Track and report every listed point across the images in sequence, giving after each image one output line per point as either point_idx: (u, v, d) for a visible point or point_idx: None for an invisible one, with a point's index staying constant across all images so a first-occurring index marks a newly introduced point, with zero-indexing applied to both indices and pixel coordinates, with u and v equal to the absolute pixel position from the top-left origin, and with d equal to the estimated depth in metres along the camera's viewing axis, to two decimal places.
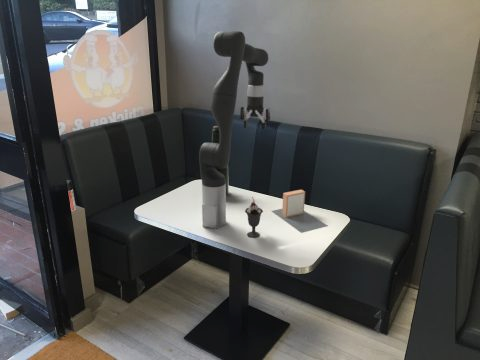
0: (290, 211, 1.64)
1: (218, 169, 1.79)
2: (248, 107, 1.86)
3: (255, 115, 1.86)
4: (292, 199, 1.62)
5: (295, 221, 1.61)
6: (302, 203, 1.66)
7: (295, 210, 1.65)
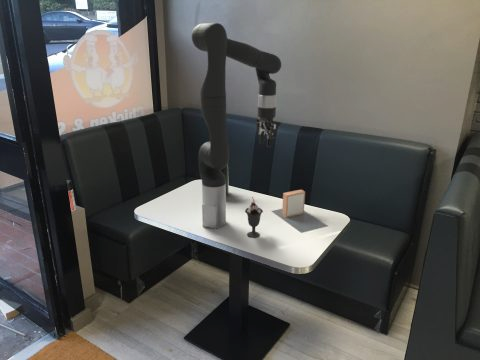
0: (290, 211, 1.64)
1: None
2: None
3: None
4: (292, 199, 1.62)
5: (295, 221, 1.61)
6: (302, 203, 1.66)
7: (295, 210, 1.65)
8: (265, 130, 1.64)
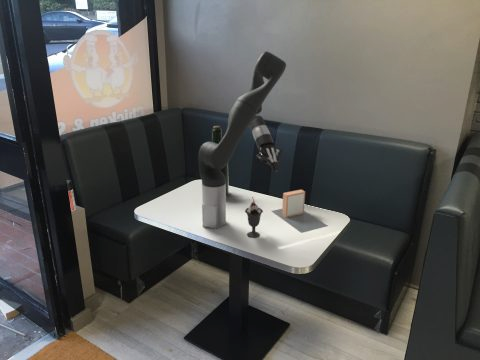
0: (290, 211, 1.64)
1: None
2: None
3: None
4: (292, 199, 1.62)
5: (295, 221, 1.61)
6: (302, 203, 1.66)
7: (295, 210, 1.65)
8: (273, 154, 1.75)
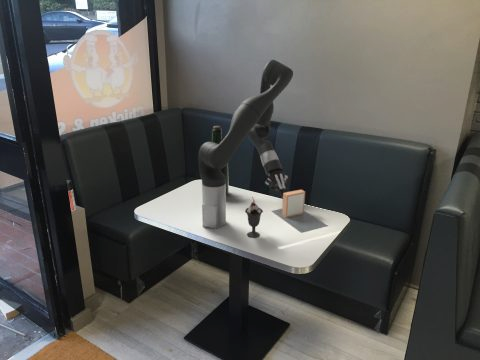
0: (290, 211, 1.64)
1: None
2: None
3: None
4: (292, 199, 1.62)
5: (295, 221, 1.61)
6: (302, 203, 1.66)
7: (295, 210, 1.65)
8: (282, 180, 1.72)
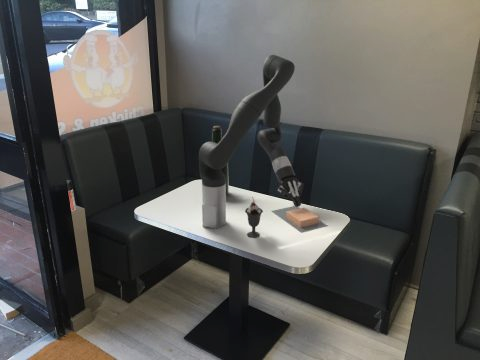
0: None
1: None
2: None
3: None
4: None
5: None
6: None
7: None
8: (295, 188, 1.65)
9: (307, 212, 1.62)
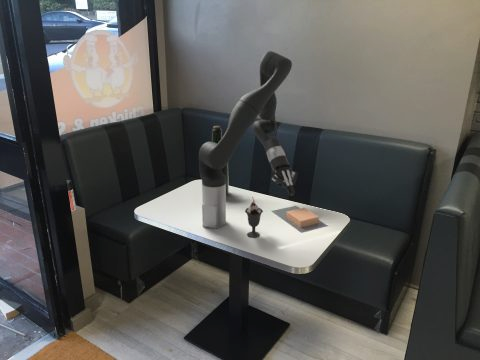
0: None
1: None
2: None
3: None
4: None
5: None
6: None
7: None
8: (289, 177, 1.67)
9: (307, 212, 1.62)
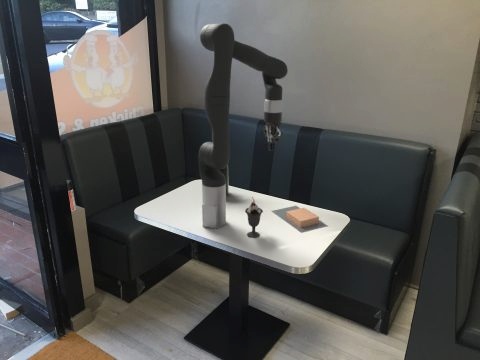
0: None
1: None
2: None
3: None
4: None
5: None
6: None
7: None
8: (269, 134, 1.67)
9: (307, 212, 1.62)
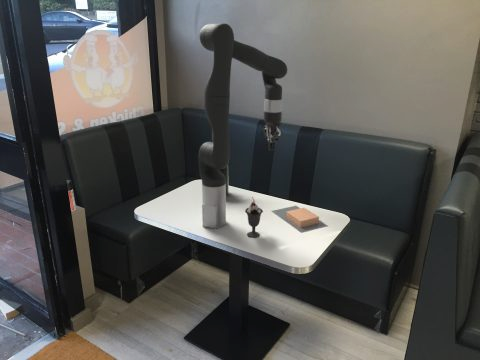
0: None
1: None
2: None
3: None
4: None
5: None
6: None
7: None
8: (269, 134, 1.67)
9: (307, 212, 1.62)
